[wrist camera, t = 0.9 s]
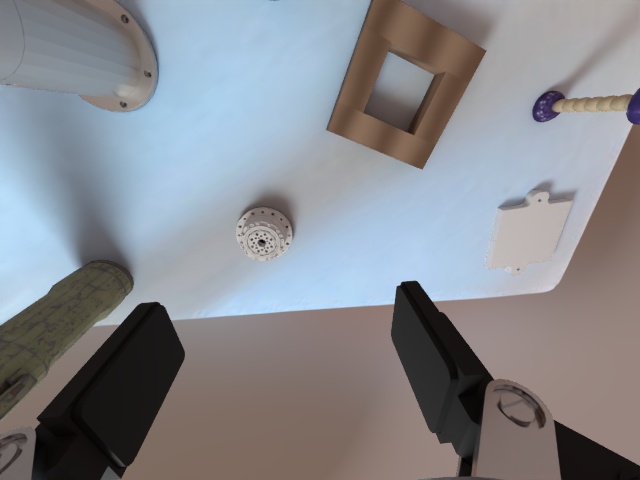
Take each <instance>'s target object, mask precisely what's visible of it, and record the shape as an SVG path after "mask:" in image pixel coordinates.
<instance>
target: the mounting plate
mask: <svg viewBox="0 0 640 480" xmlns="http://www.w3.org/2000/svg"><path fill="white" fill-rule="evenodd" d="M548 198H549V193H548V192H546V191H542V190H532V191H530V192H528V193H527V194H526V197H525V200H524V202H523V203H522V204H520V205H514V206H507V207H500V208H497V211H496V216H495V220H494V224H493V229H492V233H491V237H490V242H489V246H488V250H487V255H486V259H485V263H484V266H485V267H487V268H488V269H496V268H503V267H506V268H505V270H506V271H507V272H509V273H510V274H511V275H520V274H522V273H523V272H524V271H525V269H526V267H527V266H528V265H529V264H531V263H538V262H545V261H551V258H552V256H553V253H554V250H555V248H556V245H557V243H558V240H559V237H560V235H561V232H562V229H563V227H564V224H565V221H566V219H567V216H568V213H569V211H570V208H571V205H572V203H573V201H572V200H569V199H565V198H564V199H557V200H550V201H548Z"/></svg>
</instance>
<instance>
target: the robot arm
mask: <svg viewBox="0 0 640 480" xmlns="http://www.w3.org/2000/svg"><path fill="white" fill-rule="evenodd" d="M128 20H129V22H128ZM150 73H151V77H150ZM157 79H158V69H157V61H156V57H155V53H154V50H153V48H152V45H151V43H150V40H149V39H148V37H147V35H146V33H145V31H144V30H143V28H142V27H141V26H140V24H139V23H138V22H137V20H136V19H135V18H134V17H133V16H132V15H131V14H130V13H129V12H128V11H127V10H126V9H125V8H124V7H122V6H121V5H120V4H118V3H117V2H116V1H114V0H0V85H5V86H13V87H21V88H29V89H37V90H46V91H54V92H62V93H70V94H77V95H79V96H80V97H81V98H82V99H84V100H86V101H87V102H89V103H90V104H92V105H95V106H97V107H99V108H101V109H105V110H109V111H115V112H129V111H133V110H137V109H139V108H141V107H143V106H144V105H145V104H146V103H147V102H148V101H149V100H150V99H151V97H152V96H153V94H154V92H155V89H156V86H157ZM126 104H127V106H126ZM391 337H392V341H393V343H394V346H395V348H396V351H397V353H398V356H399V358H400V360H401V363H402V365H403V367H404V370H405V372H406V375H407V377H408V380H409V382H410V384H411V387H412V389H413V392H414V394H415V396H416V399H417V401H418V404H419V406H420V409H421V411H422V413H423V416H424V418H425V421H426V423H427V426H428V428H429V429H430V431H431V432H432V433H436V435H437V437H438V440H439V442H440V444H441V443H452V445H453V447H454V449H455V451H456V453H457V454H458V455H459V460H458V466H457V472H456V477H442V478H431V479H421V480H640V466H639V465H637V464H635V463H633V462H632V461H629V460H628V459H626V458H624V457H622V456H620V455H618V454H617V453H615V452H613V451H611V450H609V449H607V448H605V447H604V446H602V445H600V444H598V443H596V442H594V441H592V440H591V439H589V438H587V437H585V436H583V435H581V434H579V433H577V432H576V431H574V430H572V429H570V428H568V427H566V426H564V425H563V424H560V423H559V422H557V421H555V420H553V417H552V414H551V413H550V411H549V409H548V408H547V406H546V405H545V404H544V403H543V401H541V399H540V398H539V397H538V396H537V395H535V394H534V393H533V392H531V391H530V390H528V389H527V388H526V387H524V386H522V385H520V384H518V383H516V382H513V381H510V380H504V379H497V380H494V379H493V377H492V376H491V375H490V373H489V372H488V371H487V369H486V368H485V367H484V365H483V364H482V363H481V361H480V360H479V359H478V357H477V356H476V355H475V353H474V352H473V351H472V349H471V348H470V347H469V345H468V344H467V343H466V341H465V340H464V339H463V337H462V336H461V335H460V333H459V332H458V331H457V329H456V328H455V327H454V325H453V324H452V322H451V321H450V320H449V319H448V317H447V316H446V315H445V314H444V313H442V312H439V310H438V309H437V308H436V306H435V305H434V303H433V302H432V301H431V299H430V298H429V297H428V295H427V294H426V292H425V291H424V290H423V288H422V287H421V286H420V284H419V283H418V282H417V281H406V282H402V283H401V285H400V286H397V289H396V297H395V305H394V313H393V322H392V330H391ZM184 357H185V352H184V349H183V347H182V344H181V342H180V340H179V338H178V336H177V333H176V331H175V329H174V327H173V324H172V322H171V320H170V318H169V315H168V313H167V311H166V309H165V307H164V306H163V305H161V304H160V303H158V302H150V303H141V304H139V305H138V306H137V307H136V308H135V309H134V310H133V311H132V312H131V313H130V315H129V316H128V317H127V318H126V319H125V320H124V321H123V322H122V323H121V325H120V326H119V327H118V328H117V329H116V330H115V331H114V332H113V334H112V335H111V336H110V337H109V338H108V339H107V340H106V341H105V342H104V344H103V345H102V346H101V347H100V348H99V349H98V350H97V351H96V353H95V354H94V355H93V356H92V357H91V358H90V359H89V360H88V361H87V363H86V364H85V365H84V366H83V367H82V368H81V369H80V370H79V371H78V373H77V374H76V375H75V376H74V377H73V378H72V380H70V382H69V383H68V384H67V385H66V386H65V387H64V388H63V389H62V390H61V392H60V393H59V394H58V395H57V396H56V397H55V398H54V399H53V401H52V402H51V403H50V404H49V405H48V406H47V407H46V408H45V409H44V411H43V412H42V413H41V414H40V415H39V416H38V417H37V419H38V421H39V422H40V424H39V425H38V426H37V428H36V429H33V428H31V427H20V428H16V429H13V430H11V431H8V432H7V433H4V434H2V435H0V480H116V479H121V478H122V476H123V474H124V472H125V470H126V468H127V466H129V465H130V464H131V463H132V462H133V461H134V459H135V457H136V456H137V454H138V451H139V450H140V448H141V446H142V444H143V442H144V439H145V438H146V435H147V433H148V431H149V429H150V427H151V425H152V423H153V421H154V419H155V417H156V415H157V413H158V411H159V409H160V407H161V405H162V403H163V401H164V399H165V397H166V395H167V393H168V391H169V389H170V387H171V385H172V383H173V381H174V379H175V377H176V375H177V373H178V371H179V369H180V367H181V365H182V363H183V361H184ZM419 480H420V479H419Z"/></svg>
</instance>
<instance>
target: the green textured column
mask: <svg viewBox="0 0 640 480" xmlns="http://www.w3.org/2000/svg"><path fill="white" fill-rule="evenodd" d="M133 285H134V283H133V278H132V277H131V275H130V274H129V272H128V271H126V270H125V269H124V268H123V267H121V266H120V265H118V264H116V263H113V262H110V261H105V260H97V261H92V262H90V263H89V264H87V265H85V266H84V267H83V268H80V269H78V270H76V271H75V272H73V273H71V274H70V275H68V276H67V277H65V278H64V279H62V280H61V281H59V282H58V283H56V284H55V285H53V286H52V288H51V289H50V291H49V292H48V294H47V295H45V296H44V297H42V298H41V299H39V300H38V301H36V302H35V303H33V304H32V305H30V306H29V307H27V308H26V309H24V310H23V311H21V312H20V313H18V314H17V315H15V316H14V317H13V318H11V319H10V320H8V321H7V322H5V323H4V324H2V325H1V326H0V422H1V421H2V420H3V419H4V418H5V417H6V416H7V415H8V414H9V413H10V412H11V411H12V410H13V409H14V408H15V407H16V406H17V405H18V404H19V403H20V402H21V401H22V400H23V399H24V398H25V397H26V396H27V395H28V394H29V393H30V392H31V391H32V390H33V389H34V388H35V387H36V386H37V385H38V384H39V383H40V382H41V381H42V380H43V379H44V378H45V377H46V375H47V373H48V371H49V368H50V367H51V366H52V365H53V364H54V363H55V362H56V361H57V360H58V359H59V358H60V357H61V356H62V355H64V353H65V352H67V350H69V349H70V348H71V347H72V346H73V345H74V344H75V343H76V342H77V341H78V340H79V339H80V338H81V337H82V336H83V335H84V334H85V333H86V332H87V331H88V330H89V329H90V328H91V327H92V326H93V325H94V324H95V323H96V322H98V321H100V320H102V319H104V318H106V317H107V316H108V315H109V314H110V313H111V312H112V311H113V310H114V309H115V308H116V307H117V306H118V305H119V304H120V303H121V302H122V301H123V300H124V298H125V296H127V295H128V294H129V293H130V292H131V291H132V289H133Z"/></svg>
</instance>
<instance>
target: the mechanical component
mask: <svg viewBox="0 0 640 480" xmlns="http://www.w3.org/2000/svg"><path fill="white" fill-rule="evenodd" d="M252 212H253V213H252ZM273 213H274V214H273ZM236 238H237V241H238V243H239V245H240V247H241V248H242V251H244V252H245V255H248V256H250V257H251V258H253V259H254V260H261V261H268V260H272V259H274V258H277V257H279V256H280V255H282V254H284V253H285V252H286V251H287V250H288V248H289V246H290V244H291V242H292V227H291V225H290V223H289V221H288V219H287V218H286V217H285V216H284V215H283V214H282V213H280V212H279V211H277V210H274V209H272V208H267V207H259V208H254V209H251V210H249V211H248V212H246V213H245V214H244V215H243V216H242V217H241V219H240V220H239V222H238V224H237V227H236ZM260 239H263V240H265V242H263V241H260Z"/></svg>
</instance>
